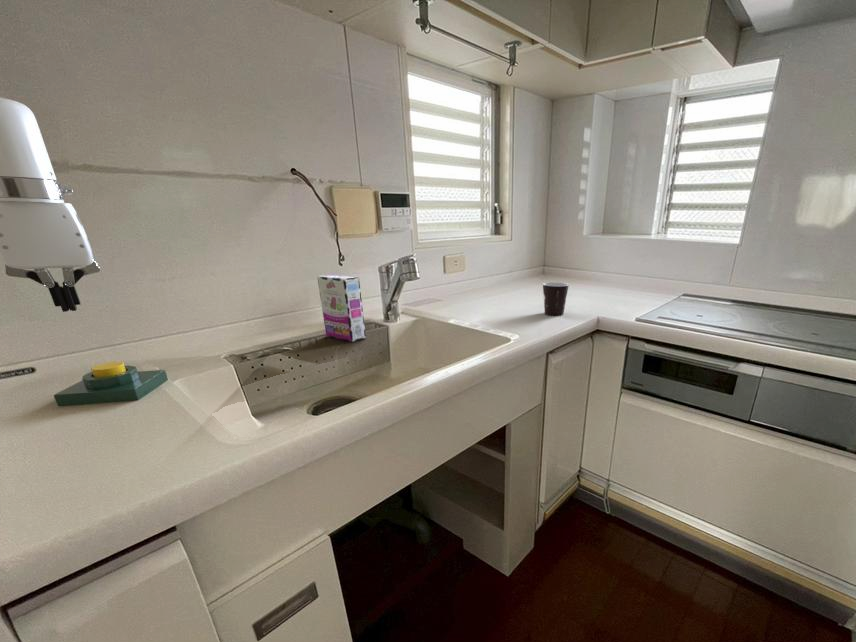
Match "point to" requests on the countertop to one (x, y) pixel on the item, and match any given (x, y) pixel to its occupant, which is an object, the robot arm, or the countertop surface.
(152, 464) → the countertop surface
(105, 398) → the control box
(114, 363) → the button
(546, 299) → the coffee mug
